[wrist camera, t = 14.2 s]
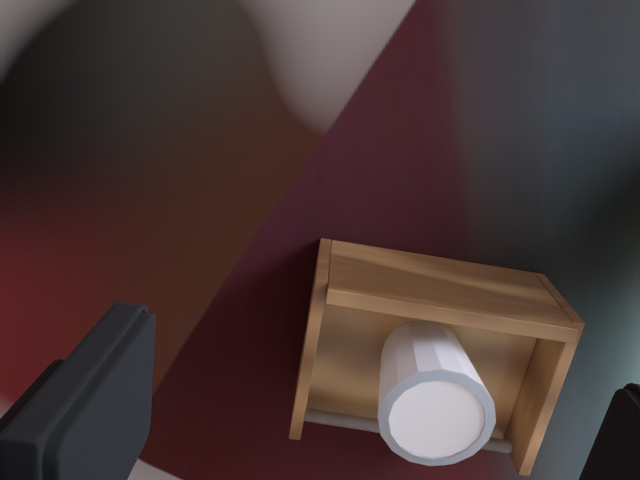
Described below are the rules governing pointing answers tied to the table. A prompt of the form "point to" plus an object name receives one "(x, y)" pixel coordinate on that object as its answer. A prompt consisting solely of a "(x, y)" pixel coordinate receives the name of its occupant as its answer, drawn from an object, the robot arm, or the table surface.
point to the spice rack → (441, 307)
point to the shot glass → (431, 396)
